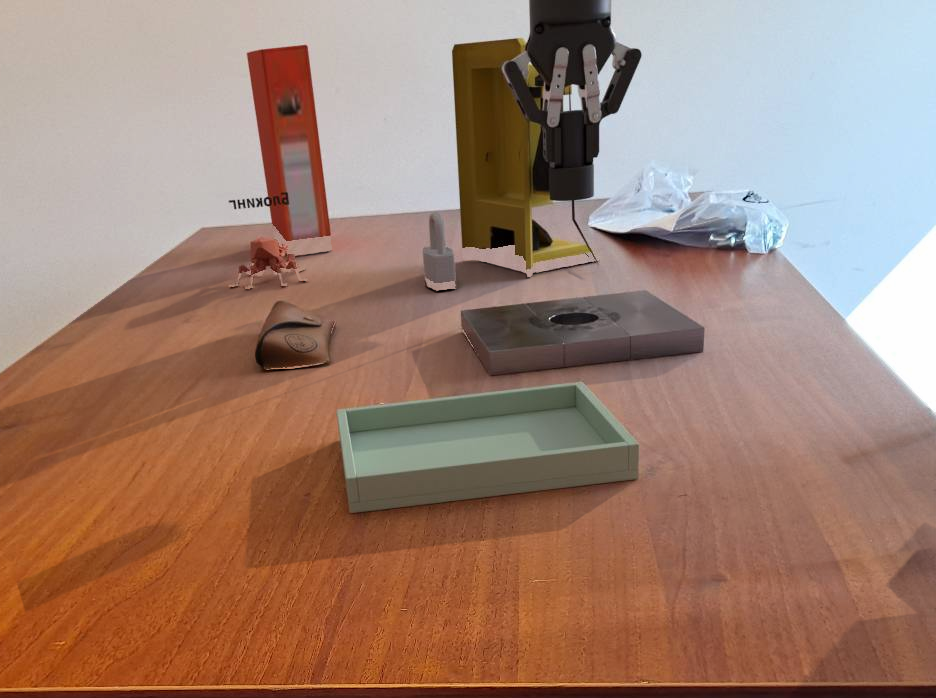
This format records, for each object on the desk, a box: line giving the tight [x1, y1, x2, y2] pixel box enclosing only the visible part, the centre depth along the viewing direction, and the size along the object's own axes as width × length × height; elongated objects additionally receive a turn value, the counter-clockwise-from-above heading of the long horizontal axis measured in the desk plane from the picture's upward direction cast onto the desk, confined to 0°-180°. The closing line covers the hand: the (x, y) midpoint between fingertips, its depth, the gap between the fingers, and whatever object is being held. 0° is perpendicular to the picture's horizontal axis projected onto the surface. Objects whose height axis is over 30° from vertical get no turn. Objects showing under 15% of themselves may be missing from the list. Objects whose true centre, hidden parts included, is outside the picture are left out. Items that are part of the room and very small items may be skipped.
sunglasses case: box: [254, 300, 336, 370], centre depth 113 cm, size 18×7×7 cm
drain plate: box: [460, 289, 706, 377], centre depth 106 cm, size 22×18×2 cm
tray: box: [336, 381, 640, 514], centre depth 78 cm, size 22×16×3 cm
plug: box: [549, 109, 595, 202], centre depth 96 cm, size 4×4×8 cm
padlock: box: [422, 211, 457, 283], centre depth 134 cm, size 7×4×10 cm, turn 11°
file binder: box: [246, 44, 332, 241], centre depth 167 cm, size 8×17×32 cm, turn 14°
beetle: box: [228, 192, 297, 275], centre depth 148 cm, size 15×12×13 cm
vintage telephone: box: [451, 37, 600, 270], centre depth 138 cm, size 31×14×30 cm, turn 26°
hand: (571, 164), depth 97 cm, fingers closed on plug, 2 cm apart
